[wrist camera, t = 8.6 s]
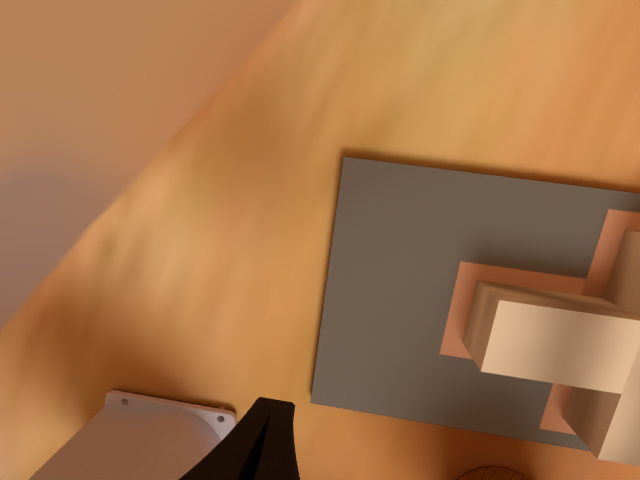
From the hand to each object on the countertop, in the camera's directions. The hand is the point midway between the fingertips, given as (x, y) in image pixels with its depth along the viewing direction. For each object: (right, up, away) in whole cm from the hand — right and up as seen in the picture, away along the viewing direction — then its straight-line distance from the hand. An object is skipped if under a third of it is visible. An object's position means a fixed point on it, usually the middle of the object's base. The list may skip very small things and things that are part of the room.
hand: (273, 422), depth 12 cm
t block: (+16, +2, +7) cm, 18 cm away
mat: (+12, +2, +8) cm, 15 cm away
